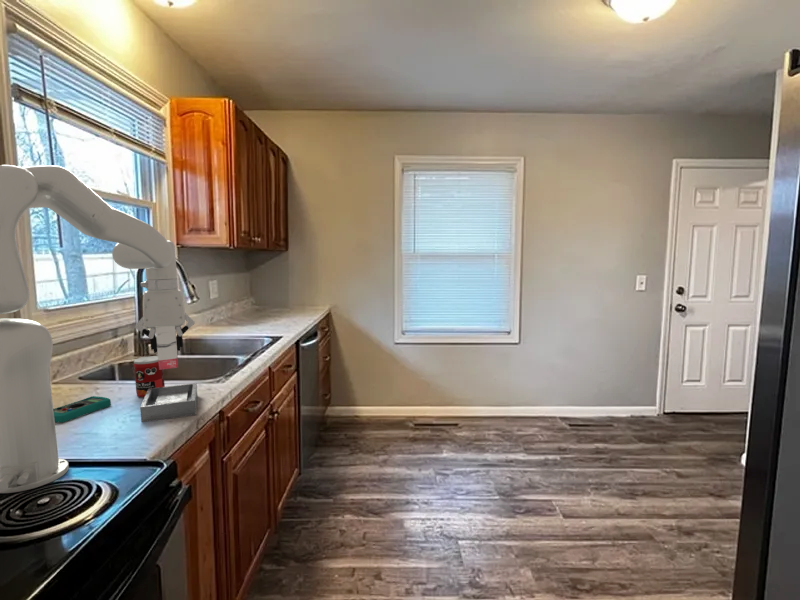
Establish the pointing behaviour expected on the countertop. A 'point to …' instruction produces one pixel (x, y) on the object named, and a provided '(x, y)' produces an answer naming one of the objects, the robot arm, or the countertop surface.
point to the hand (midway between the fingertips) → (167, 350)
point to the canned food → (147, 374)
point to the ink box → (166, 347)
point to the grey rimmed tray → (169, 402)
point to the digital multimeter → (80, 408)
